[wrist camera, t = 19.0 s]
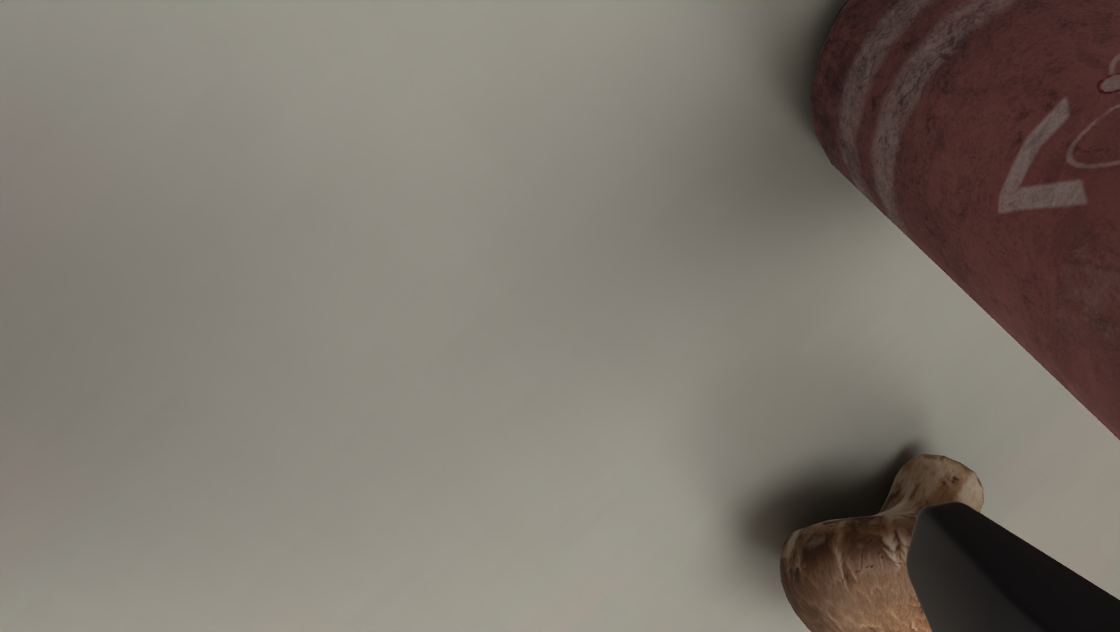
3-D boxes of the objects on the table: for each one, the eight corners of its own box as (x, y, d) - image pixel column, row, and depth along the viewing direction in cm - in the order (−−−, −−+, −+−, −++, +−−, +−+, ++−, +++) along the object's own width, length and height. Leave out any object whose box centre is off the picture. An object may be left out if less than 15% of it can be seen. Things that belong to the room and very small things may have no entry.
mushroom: (1070, 433, 25) (1088, 675, 23) (1032, 507, 32) (1043, 701, 30) (773, 420, 28) (759, 635, 26) (796, 491, 35) (787, 667, 32)
